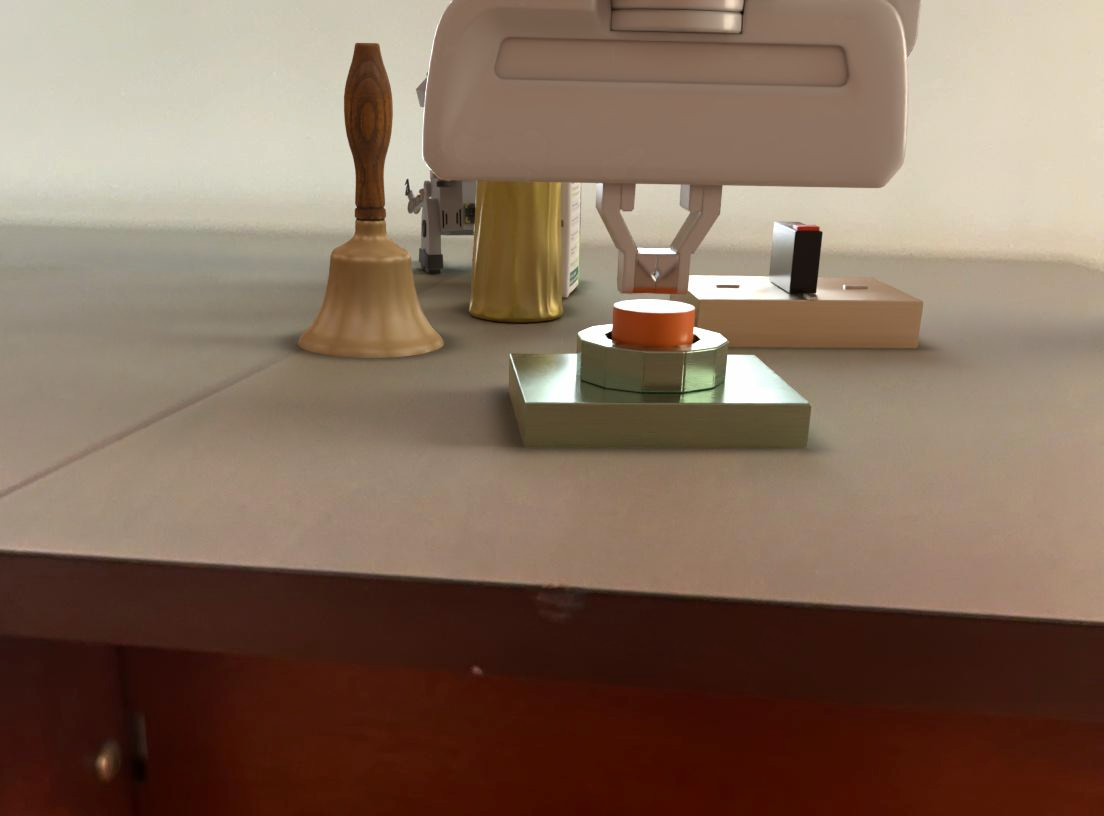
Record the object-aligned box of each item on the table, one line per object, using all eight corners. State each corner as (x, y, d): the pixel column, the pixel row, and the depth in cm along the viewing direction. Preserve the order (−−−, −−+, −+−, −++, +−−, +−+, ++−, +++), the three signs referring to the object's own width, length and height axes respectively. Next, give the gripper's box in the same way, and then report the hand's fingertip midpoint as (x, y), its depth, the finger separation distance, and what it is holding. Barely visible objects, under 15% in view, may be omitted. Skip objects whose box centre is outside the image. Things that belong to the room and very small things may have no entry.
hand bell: (474, 349, 75) (477, 44, 69) (361, 369, 70) (354, 40, 64) (380, 328, 80) (375, 44, 74) (268, 346, 75) (253, 40, 69)
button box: (751, 399, 65) (758, 317, 64) (806, 454, 56) (816, 360, 54) (508, 398, 64) (510, 315, 63) (523, 454, 55) (526, 359, 54)
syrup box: (569, 298, 92) (577, 74, 87) (486, 294, 93) (489, 73, 88) (579, 286, 97) (587, 74, 92) (500, 283, 98) (504, 72, 93)
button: (684, 338, 61) (687, 299, 60) (699, 354, 57) (702, 313, 57) (606, 337, 60) (608, 298, 60) (617, 353, 57) (619, 312, 56)
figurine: (510, 256, 112) (514, 65, 106) (544, 276, 102) (551, 66, 96) (404, 257, 110) (402, 63, 105) (428, 277, 100) (427, 63, 94)
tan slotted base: (867, 324, 85) (873, 274, 84) (917, 353, 76) (925, 298, 75) (667, 322, 84) (670, 272, 83) (695, 352, 76) (700, 296, 74)
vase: (494, 303, 90) (498, 77, 84) (578, 312, 87) (587, 79, 82) (452, 317, 84) (453, 77, 79) (539, 326, 82) (546, 79, 77)
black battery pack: (768, 280, 81) (774, 217, 80) (794, 280, 82) (800, 217, 80) (789, 293, 77) (795, 226, 75) (816, 293, 77) (823, 227, 75)
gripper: (902, -45, 56) (861, 284, 62) (421, -60, 55) (422, 278, 60) (957, -58, 51) (908, 307, 56) (422, -74, 49) (422, 301, 54)
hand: (651, 292), depth 58 cm, fingers closed
